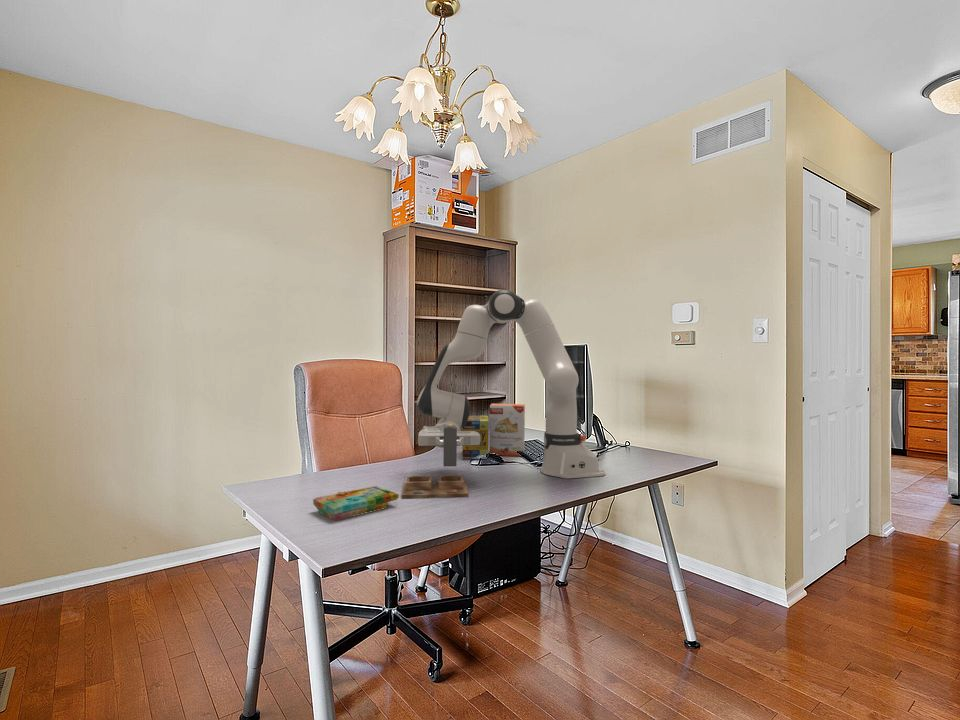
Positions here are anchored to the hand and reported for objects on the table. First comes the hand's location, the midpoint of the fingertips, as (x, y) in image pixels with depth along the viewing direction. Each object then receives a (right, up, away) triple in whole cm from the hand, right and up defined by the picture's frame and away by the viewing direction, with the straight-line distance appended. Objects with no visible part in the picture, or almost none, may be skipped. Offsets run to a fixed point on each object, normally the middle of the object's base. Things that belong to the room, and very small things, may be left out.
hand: (450, 443), depth 168 cm
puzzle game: (-25, -16, -18) cm, 35 cm away
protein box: (+8, -13, +51) cm, 53 cm away
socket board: (-5, -15, -1) cm, 16 cm away
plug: (0, -7, +1) cm, 7 cm away
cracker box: (+20, -13, +52) cm, 57 cm away
